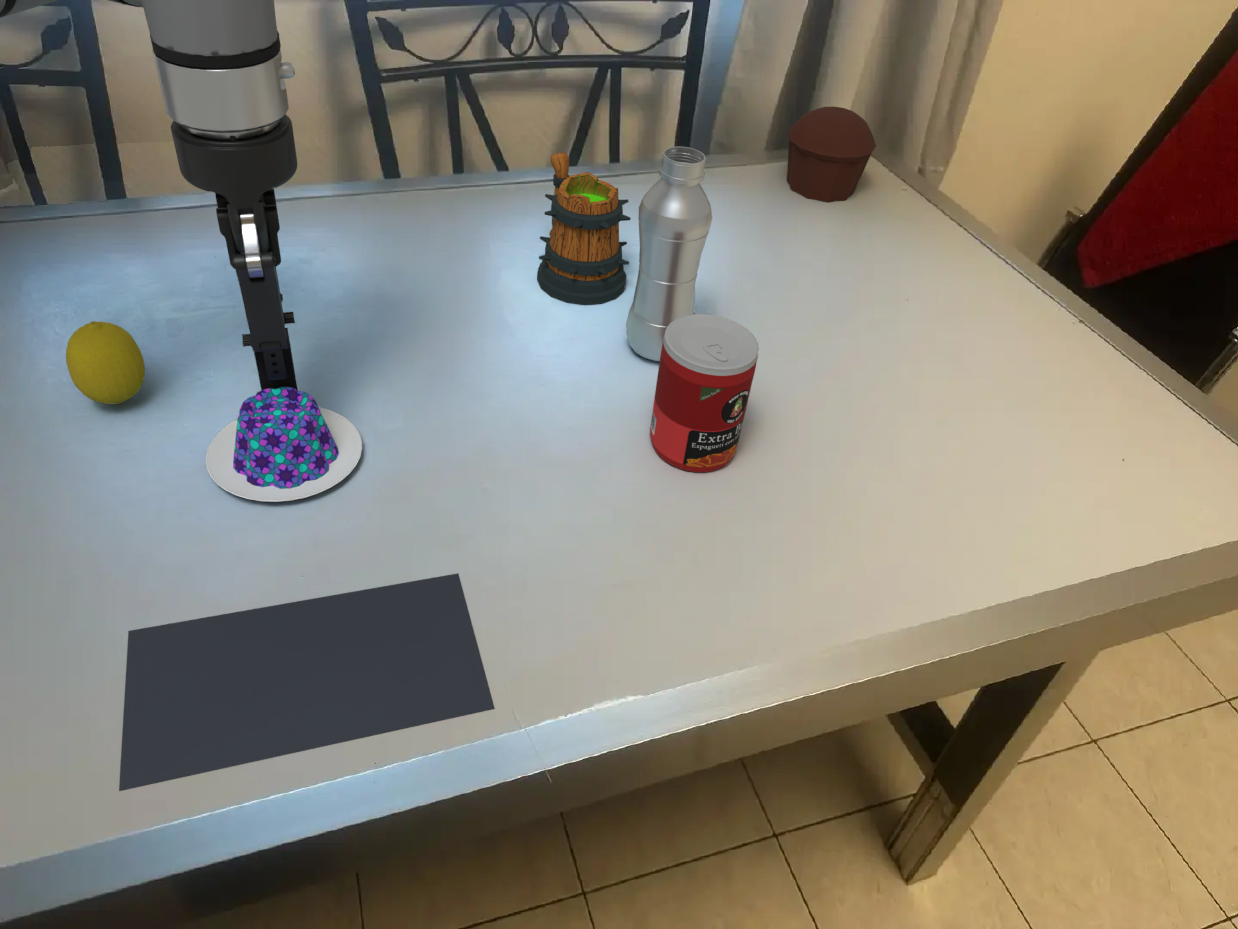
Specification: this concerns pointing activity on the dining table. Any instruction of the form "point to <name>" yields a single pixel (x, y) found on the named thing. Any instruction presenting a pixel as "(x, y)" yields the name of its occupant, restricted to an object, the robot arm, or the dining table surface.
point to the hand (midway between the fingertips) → (281, 400)
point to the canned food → (702, 391)
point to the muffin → (828, 153)
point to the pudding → (283, 448)
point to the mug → (582, 239)
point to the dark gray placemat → (297, 678)
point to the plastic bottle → (669, 249)
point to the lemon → (105, 362)
